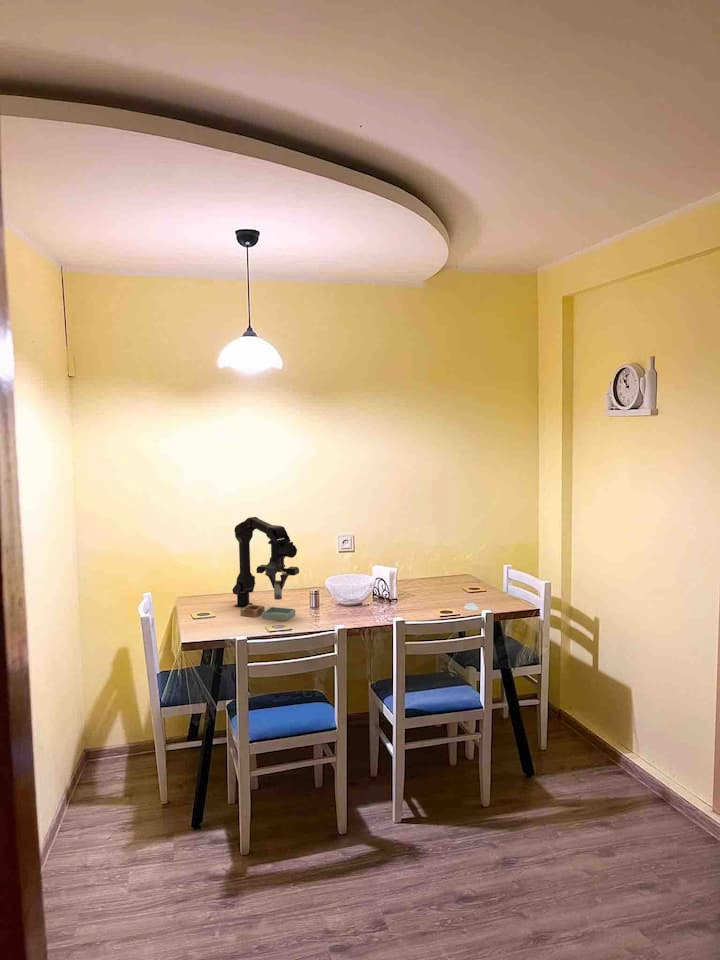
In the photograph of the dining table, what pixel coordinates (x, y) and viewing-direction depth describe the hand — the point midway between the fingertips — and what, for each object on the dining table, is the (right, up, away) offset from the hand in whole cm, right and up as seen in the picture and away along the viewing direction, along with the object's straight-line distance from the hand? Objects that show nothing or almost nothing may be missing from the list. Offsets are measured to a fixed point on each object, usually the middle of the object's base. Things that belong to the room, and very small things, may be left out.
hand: (278, 588), depth 296 cm
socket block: (-12, -12, +5) cm, 18 cm away
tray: (0, -13, +1) cm, 13 cm away
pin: (0, -5, 0) cm, 5 cm away
